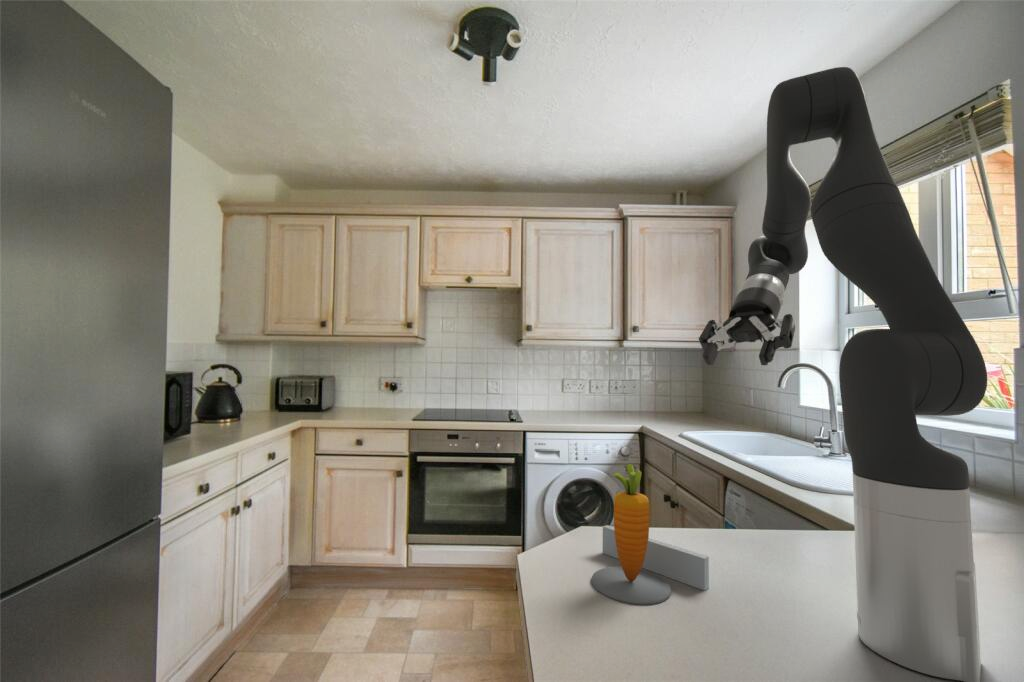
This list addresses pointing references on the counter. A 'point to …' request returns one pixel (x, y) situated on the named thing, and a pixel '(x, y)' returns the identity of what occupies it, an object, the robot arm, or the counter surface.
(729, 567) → the counter surface
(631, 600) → the rest mat
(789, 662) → the counter surface
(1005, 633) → the counter surface
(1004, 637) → the counter surface
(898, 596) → the robot arm
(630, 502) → the carrot
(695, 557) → the low wall
